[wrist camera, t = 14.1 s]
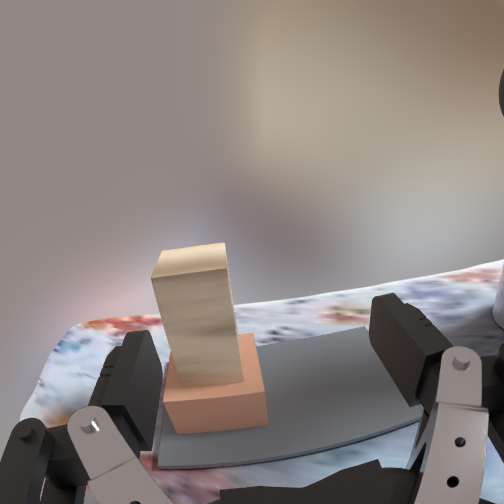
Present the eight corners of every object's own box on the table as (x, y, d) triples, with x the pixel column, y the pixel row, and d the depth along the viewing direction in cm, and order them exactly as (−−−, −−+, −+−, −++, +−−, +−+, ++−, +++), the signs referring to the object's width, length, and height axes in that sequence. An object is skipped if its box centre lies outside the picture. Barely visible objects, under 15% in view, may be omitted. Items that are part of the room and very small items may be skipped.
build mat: (172, 360, 35) (171, 356, 34) (364, 330, 36) (364, 326, 36) (159, 469, 21) (157, 465, 20) (423, 418, 22) (425, 414, 22)
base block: (182, 375, 31) (172, 342, 30) (257, 366, 32) (253, 332, 30) (177, 434, 24) (162, 401, 22) (268, 424, 24) (264, 391, 23)
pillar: (186, 350, 28) (162, 250, 25) (239, 344, 28) (224, 242, 25) (183, 387, 24) (150, 277, 20) (244, 381, 24) (226, 268, 20)
